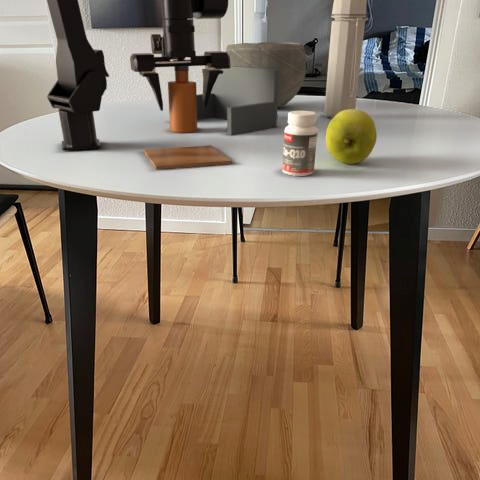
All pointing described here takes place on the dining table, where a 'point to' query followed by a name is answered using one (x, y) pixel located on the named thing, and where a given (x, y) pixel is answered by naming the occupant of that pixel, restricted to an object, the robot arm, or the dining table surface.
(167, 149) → the wooden square board
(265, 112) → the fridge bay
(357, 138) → the apple
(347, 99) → the water bottle
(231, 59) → the bowl
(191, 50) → the robot arm
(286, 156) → the pill bottle
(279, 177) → the dining table surface
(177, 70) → the amber bottle
